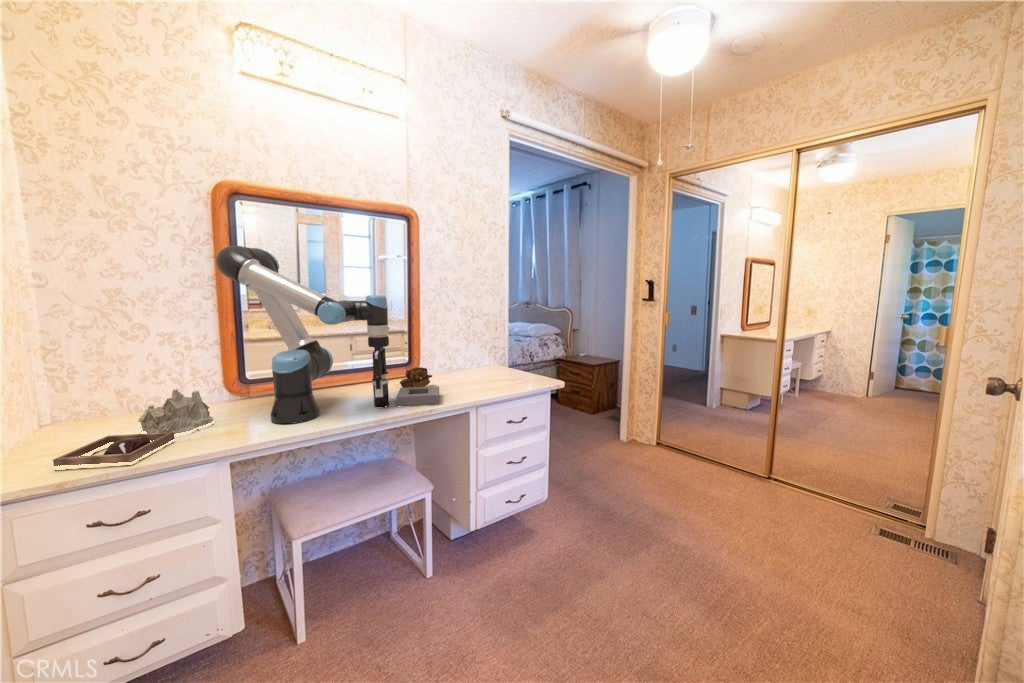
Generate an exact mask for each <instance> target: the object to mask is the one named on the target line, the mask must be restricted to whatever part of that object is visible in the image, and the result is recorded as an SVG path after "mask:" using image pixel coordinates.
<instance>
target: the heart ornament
mask: <svg viewBox="0 0 1024 683" xmlns="http://www.w3.org/2000/svg"><path fill="white" fill-rule="evenodd" d="M148 443H150V439H149V438H146V437H139V438H129V439H123V440H119V441H116V442H114V443H113V444H111V445H110V446H109V447H108V448H106V449H105V451H104V453H103V454H102V455H112V454H128V453H131V452H133V451H135V450H137V449H139V448H141V447H143V446H145V445H146V444H148Z"/></svg>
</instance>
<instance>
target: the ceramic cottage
mask: <svg viewBox="0 0 1024 683" xmlns="http://www.w3.org/2000/svg"><path fill="white" fill-rule="evenodd" d="M209 409H210V406H208V405H207V404H206V402H203V399H202V396H201V394H200V391H199V390H193V391H192V392H191V396H184V393H181V392H180V391H179V389H178V388H173V389H172V393H171V397H168V398H166V399H165V401H164V404H163V406H162V405H161V406H156V408H155V407H154V405H152V404H149V405H148V406H147V409H145V411H144V412H143V414H142V415H141V416H140V417H139V418H138V421H137V422H138V423H140V425H141V428H142V430H143V431H146V432H147V433H165V432H174V434H176V433H181V432H186V431H190V430H193V429H194V428H197V427H199V426H203V425H206V424H208V423H211V422H212V421H213V420H214V418H213V417H212V416H210V413H211V412H210V411H209Z"/></svg>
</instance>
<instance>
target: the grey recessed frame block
mask: <svg viewBox="0 0 1024 683" xmlns="http://www.w3.org/2000/svg"><path fill="white" fill-rule="evenodd" d="M395 396H396V397H395V398H396V407H397V406H409V407H419V406H418V405H428V406H438V405H437V404H439V405H440V386H439V385H438V386H437V385H436V386H433V385H432V386H431V385H430V386H425V387H408V388H402V387H400V388H399V390H398V392H397V394H396V395H395Z"/></svg>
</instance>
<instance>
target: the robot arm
mask: <svg viewBox="0 0 1024 683" xmlns="http://www.w3.org/2000/svg"><path fill="white" fill-rule="evenodd" d="M215 264H216V267H217V269H218V271H219V272H220V273H221V274H222V275H223V276H224V277H226V278H228V279H229V280H233V281H235V283H236V282H237V283H238V284H240V285H242V286H245V287H246V288H247V289H248V290H249V291H252V292H254V293H255V295H257V298H258V299H259V301H260V303H261V305H262V307H263V308H264V309H265V312H266V313H267V314H268V317H269V318H270V320H271V322H272V323H273V326H274V327H275V328H276V330H277V332H278V334H279V335H280V337H281V339H282V340H283V341H284V343H285V346H286V347H287V350H286V351H285V350H284V351H281V352H279V353H276V354H274V355H273V357H272V359H271V371H272V380H273V390H274V401H273V405H272V408H271V412H270V422H271V421H272V422H271V423H273V422H275V423H274V424H276V423H293V424H295V423H294V422H299V423H302V422H301V421H304V422H307V421H306V420H308V421H310V419H311V420H313V419H315V417H316V418H317V417H319V415H320V407H319V405H318V402H317V400H316V399H315V396H314V394H313V381H315V380H318V379H321V378H323V377H325V376H326V375H327V374H328V373H329V372H330V371H331V370H332V367H333V363H334V359H333V356H332V353H331V352H330V351H329V350H328V349H327V348H324V347H322V346H321V344H320V343H319V341H318V340H317V339H314V338H312V337H311V335H310V334H309V332H308V330H307V329H306V327H305V325H304V324H303V322H302V320H301V318H300V316H299V315H298V313H297V311H296V310H295V308H294V306H295V307H297V308H299V309H301V310H303V311H306V312H308V313H310V314H312V315H314V316H317V317H318V319H320V321H321V322H322V323H323V324H326V325H333V326H334V325H339V324H343V323H347V322H353V321H366V323H367V324H366V326H367V327H366V329H367V330H366V331H367V336H368V337H367V343H368V344H367V345H368V347H369V348H374V350H373V351H372V379H371V381H374V382H375V397H383V384H382V379H387V375H388V374H389V372H388V370H387V360H386V348H385V347H388V346H390V338H389V337H390V336H388V335H389V330H391V328H390V326H389V318H388V316H389V314H388V301H387V297H386V296H385V295H380V294H379V295H378V294H377V295H366V296H365V300H345V299H344V300H343V299H342V300H335V299H333V298H331V297H328V296H327V295H325V294H323V293H320V292H318V291H316V290H314V289H312V288H310V287H308V286H306V285H304V284H301V283H300V282H297V281H296V280H294V279H291V278H289V277H287V276H284V275H283V274H281V273H279V272H280V271H279V269H280V264H279V261H278V260H277V258H276V257H275V256H274V255H273V254H272V253H270V252H269V251H268V250H264V249H261V248H258V247H252V248H251V247H247V246H241V245H228V246H226V247H224V248H222V249H220V250H219V251H218V253H217V255H216V257H215ZM312 418H313V419H312Z"/></svg>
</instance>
